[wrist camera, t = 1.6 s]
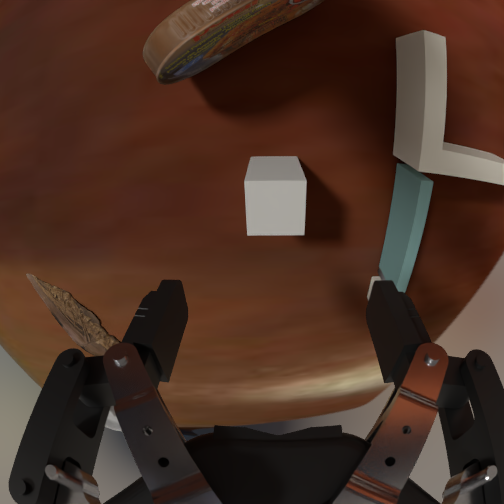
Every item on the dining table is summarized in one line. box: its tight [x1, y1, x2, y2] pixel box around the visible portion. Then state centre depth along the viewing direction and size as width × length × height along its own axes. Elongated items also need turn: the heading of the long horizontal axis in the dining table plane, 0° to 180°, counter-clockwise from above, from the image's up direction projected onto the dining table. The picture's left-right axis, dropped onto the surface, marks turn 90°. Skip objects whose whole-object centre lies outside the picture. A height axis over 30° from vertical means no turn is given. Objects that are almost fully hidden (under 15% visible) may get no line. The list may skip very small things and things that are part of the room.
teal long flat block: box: [378, 163, 433, 293], centre depth 24 cm, size 13×2×5 cm, turn 2°
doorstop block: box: [244, 156, 307, 235], centre depth 22 cm, size 4×4×7 cm
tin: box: [143, 0, 324, 85], centre depth 14 cm, size 15×3×8 cm, turn 123°
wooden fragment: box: [26, 274, 120, 356], centre depth 39 cm, size 26×11×1 cm, turn 33°
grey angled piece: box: [367, 30, 504, 301], centre depth 21 cm, size 28×13×5 cm, turn 2°
